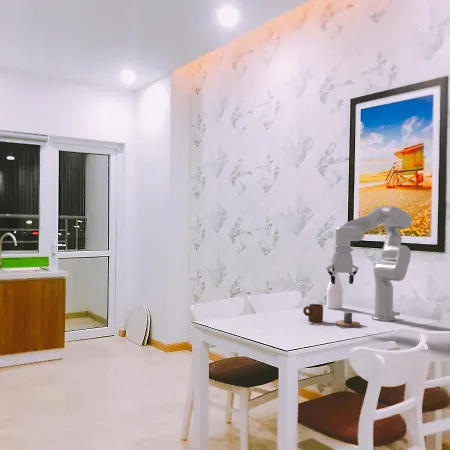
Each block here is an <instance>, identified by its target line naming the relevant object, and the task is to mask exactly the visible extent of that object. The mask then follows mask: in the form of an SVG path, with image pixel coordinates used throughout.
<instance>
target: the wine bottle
mask: <svg viewBox="0 0 450 450" xmlns="http://www.w3.org/2000/svg"><path fill="white" fill-rule="evenodd" d="M334 276H335V284H332V283H331V278H330V279H329V282H328V285H327V288H326V307H327V309H329V310H330V309H331V310H341V309H343V300H344V299H343V295H344V294H343V293H344V292H343V291H344V290H343V285H342V283H341V278H340V275H339V273H336V274H335V275H334Z"/></svg>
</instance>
